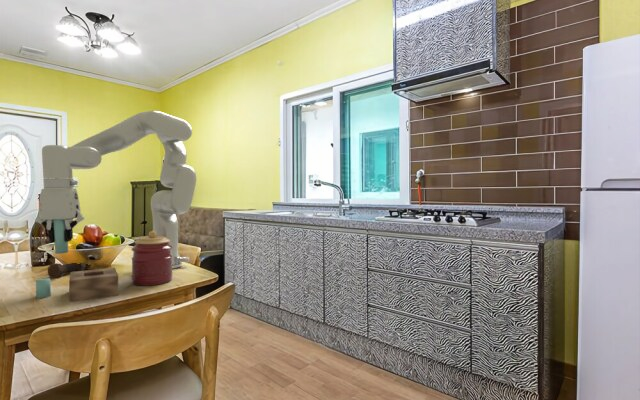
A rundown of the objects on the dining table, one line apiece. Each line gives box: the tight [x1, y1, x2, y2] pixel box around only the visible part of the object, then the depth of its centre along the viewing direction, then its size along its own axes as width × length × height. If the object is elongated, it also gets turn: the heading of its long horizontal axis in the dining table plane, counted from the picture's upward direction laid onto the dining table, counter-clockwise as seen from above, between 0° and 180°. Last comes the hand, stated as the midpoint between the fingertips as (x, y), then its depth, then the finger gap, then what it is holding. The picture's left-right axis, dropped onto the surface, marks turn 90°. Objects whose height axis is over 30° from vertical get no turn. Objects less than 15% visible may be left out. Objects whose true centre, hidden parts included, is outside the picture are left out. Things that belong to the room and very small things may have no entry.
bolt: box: [47, 262, 92, 279], centre depth 132 cm, size 6×5×15 cm
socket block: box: [68, 267, 119, 303], centre depth 107 cm, size 12×12×6 cm
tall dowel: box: [54, 220, 69, 255], centre depth 112 cm, size 3×3×11 cm
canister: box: [130, 230, 173, 286], centre depth 122 cm, size 13×13×18 cm
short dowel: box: [35, 277, 52, 299], centre depth 103 cm, size 3×3×5 cm
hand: (61, 240), depth 113 cm, fingers closed on tall dowel, 3 cm apart
